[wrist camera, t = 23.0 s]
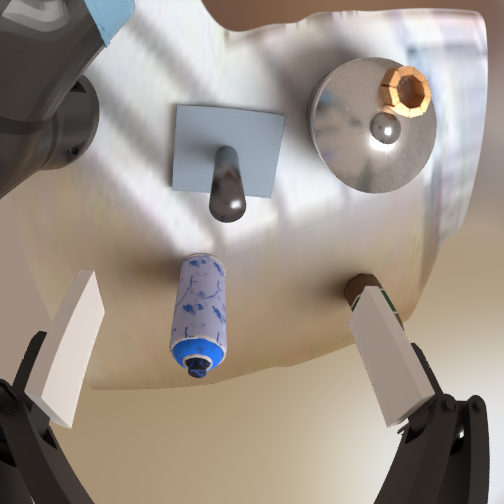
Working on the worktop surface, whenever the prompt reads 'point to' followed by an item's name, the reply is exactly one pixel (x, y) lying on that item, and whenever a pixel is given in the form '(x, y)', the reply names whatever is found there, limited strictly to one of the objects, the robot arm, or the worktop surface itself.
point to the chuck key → (227, 187)
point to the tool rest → (226, 134)
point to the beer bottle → (356, 290)
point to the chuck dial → (374, 124)
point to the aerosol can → (200, 315)
